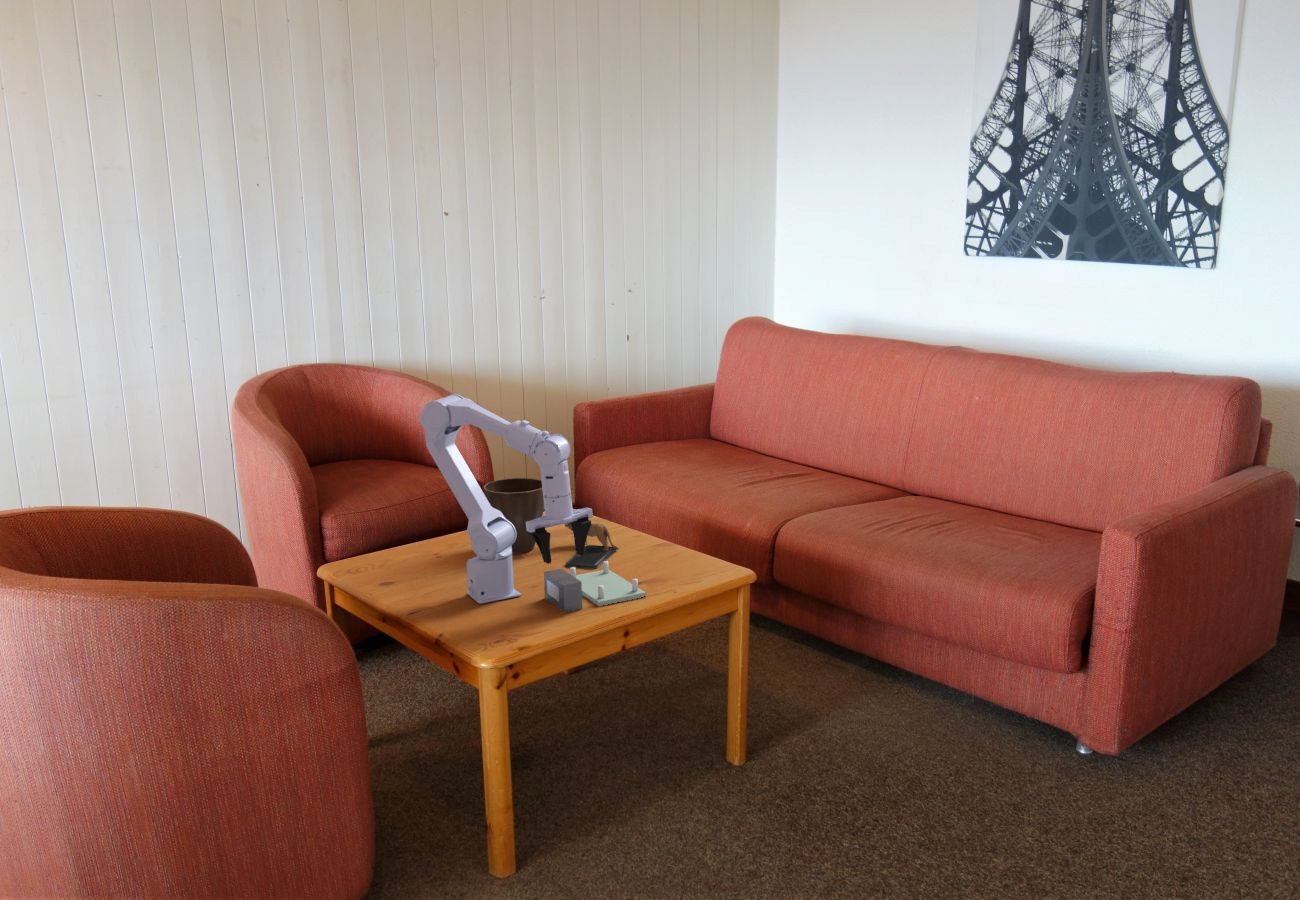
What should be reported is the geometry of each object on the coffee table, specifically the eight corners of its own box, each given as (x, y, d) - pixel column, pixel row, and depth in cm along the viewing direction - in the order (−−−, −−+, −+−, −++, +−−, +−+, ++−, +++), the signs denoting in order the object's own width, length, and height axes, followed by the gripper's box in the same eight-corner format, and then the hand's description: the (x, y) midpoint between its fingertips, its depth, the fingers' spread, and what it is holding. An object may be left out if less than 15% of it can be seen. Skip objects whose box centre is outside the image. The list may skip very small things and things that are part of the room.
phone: (617, 547, 266) (596, 566, 252) (617, 551, 266) (596, 570, 252) (586, 544, 268) (563, 563, 254) (586, 549, 268) (564, 568, 255)
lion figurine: (560, 547, 269) (559, 511, 267) (571, 541, 274) (570, 506, 272) (613, 554, 263) (612, 518, 261) (624, 548, 267) (623, 512, 265)
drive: (564, 613, 226) (563, 585, 224) (544, 598, 234) (543, 571, 233) (582, 609, 228) (581, 581, 226) (562, 595, 236) (561, 568, 235)
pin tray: (599, 606, 229) (598, 590, 228) (563, 581, 244) (562, 566, 243) (645, 596, 234) (645, 581, 233) (608, 573, 249) (607, 558, 248)
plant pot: (478, 545, 272) (475, 482, 268) (535, 536, 278) (532, 474, 275) (500, 562, 259) (496, 496, 255) (558, 551, 266) (556, 487, 262)
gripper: (533, 504, 220) (541, 570, 223) (597, 490, 227) (603, 554, 230) (518, 499, 226) (525, 563, 229) (580, 485, 233) (587, 547, 236)
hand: (563, 558), depth 230 cm, fingers open, 7 cm apart
